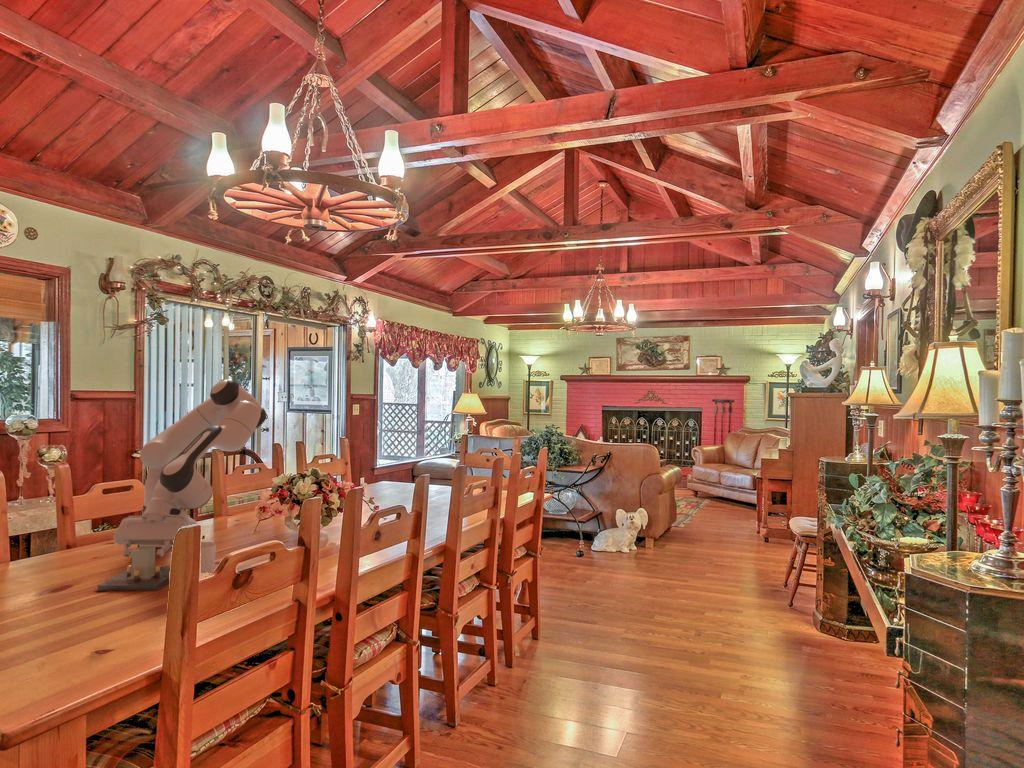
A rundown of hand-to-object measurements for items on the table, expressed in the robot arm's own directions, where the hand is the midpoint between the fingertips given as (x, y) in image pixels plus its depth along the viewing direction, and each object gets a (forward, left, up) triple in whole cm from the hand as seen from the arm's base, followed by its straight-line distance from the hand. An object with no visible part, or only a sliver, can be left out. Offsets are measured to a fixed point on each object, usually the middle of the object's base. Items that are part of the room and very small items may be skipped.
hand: (142, 555), depth 186 cm
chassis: (-1, 0, -8) cm, 8 cm away
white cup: (-11, +12, -8) cm, 18 cm away
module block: (-1, 0, -6) cm, 6 cm away
